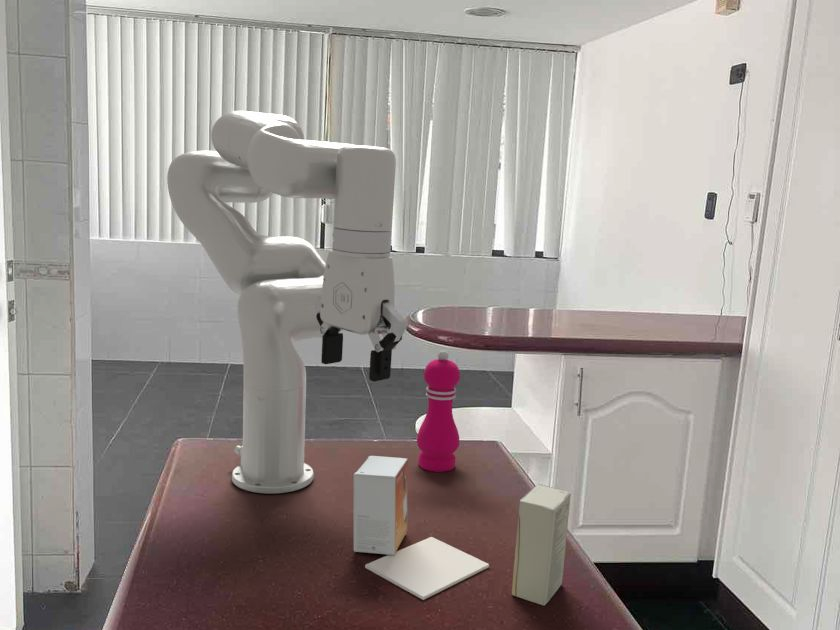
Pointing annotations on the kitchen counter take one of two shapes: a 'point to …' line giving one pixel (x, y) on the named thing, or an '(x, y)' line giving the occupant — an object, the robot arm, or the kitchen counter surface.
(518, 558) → the skincare box
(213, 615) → the kitchen counter surface
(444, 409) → the pepper mill
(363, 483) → the small box
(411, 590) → the mat
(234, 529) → the kitchen counter surface
